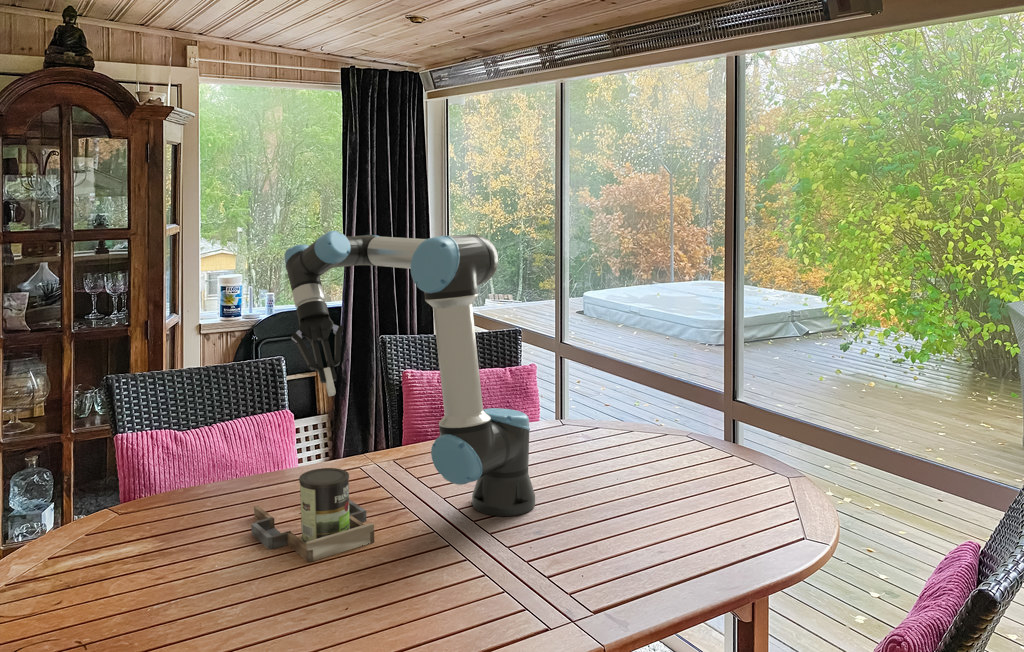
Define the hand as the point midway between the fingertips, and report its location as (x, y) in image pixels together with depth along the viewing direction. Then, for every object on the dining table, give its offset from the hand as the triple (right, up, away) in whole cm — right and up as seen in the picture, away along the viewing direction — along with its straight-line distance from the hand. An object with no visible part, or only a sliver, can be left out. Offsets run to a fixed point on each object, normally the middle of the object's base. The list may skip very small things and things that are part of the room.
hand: (332, 394), depth 188 cm
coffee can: (+4, -29, -21) cm, 36 cm away
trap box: (-1, -28, -16) cm, 32 cm away
